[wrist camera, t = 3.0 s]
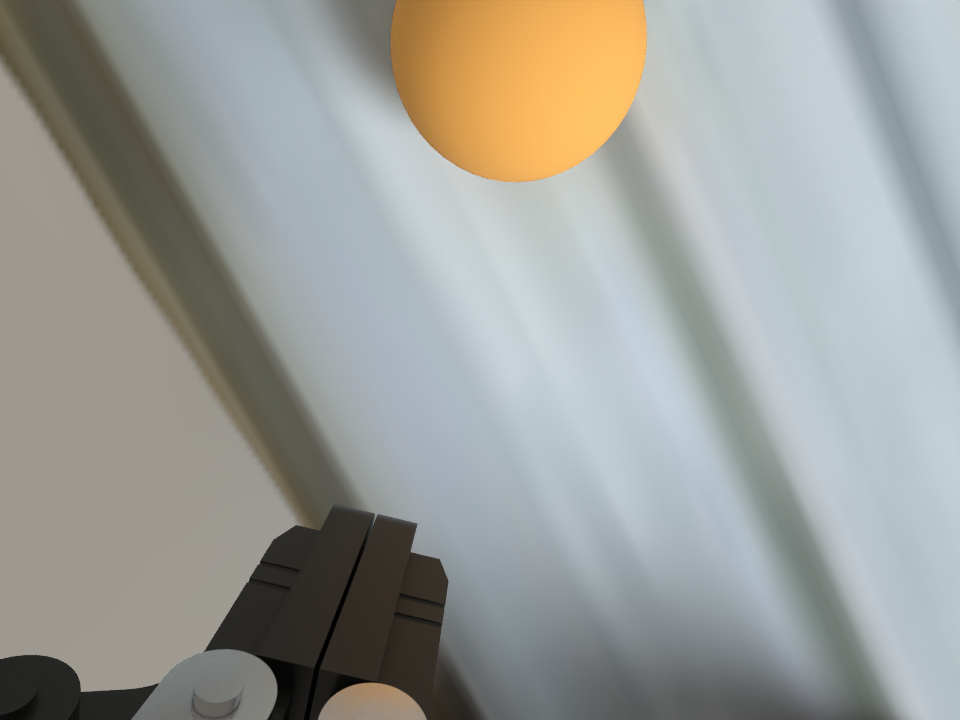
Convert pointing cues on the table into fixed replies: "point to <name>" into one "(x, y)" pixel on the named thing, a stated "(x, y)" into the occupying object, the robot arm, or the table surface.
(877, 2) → the table surface
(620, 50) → the ball
